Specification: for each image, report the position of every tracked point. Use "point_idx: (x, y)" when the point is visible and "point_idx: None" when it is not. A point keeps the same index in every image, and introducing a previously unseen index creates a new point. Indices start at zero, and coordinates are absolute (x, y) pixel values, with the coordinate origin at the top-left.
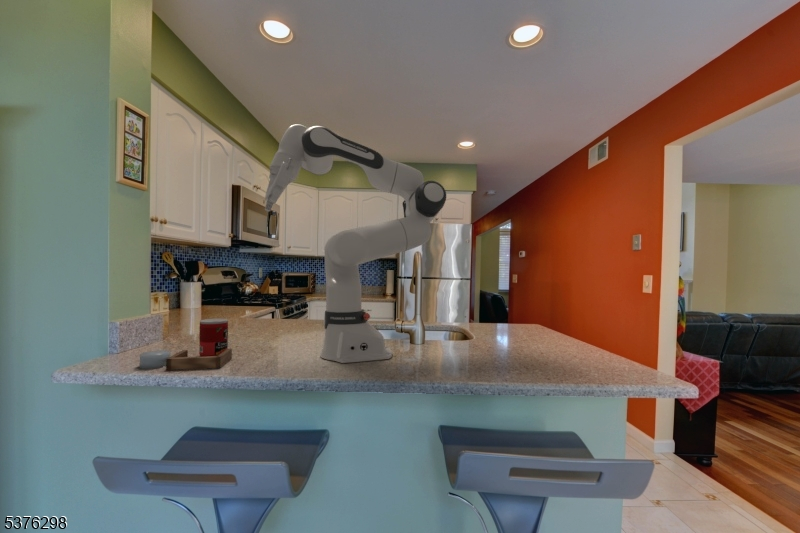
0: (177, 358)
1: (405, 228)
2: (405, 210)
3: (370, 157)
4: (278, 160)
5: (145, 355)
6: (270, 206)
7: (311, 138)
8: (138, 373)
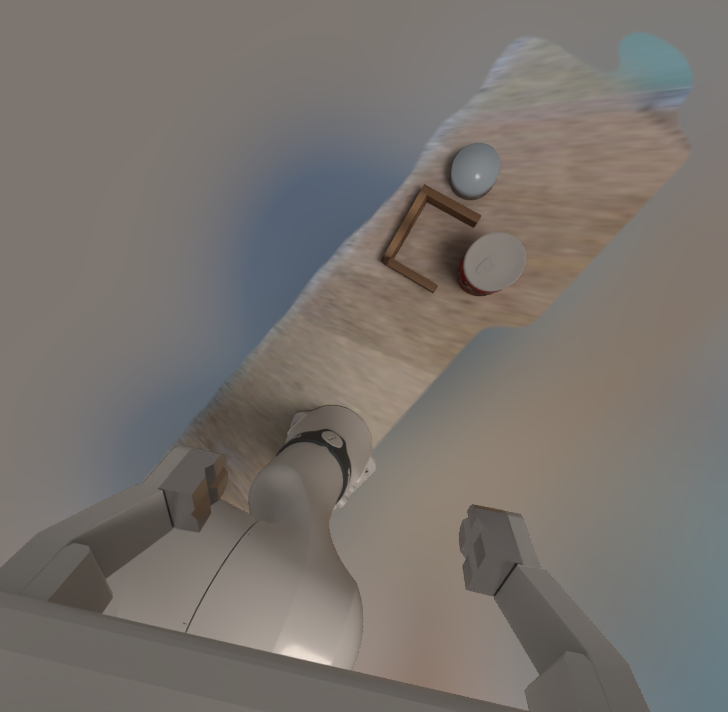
0: (415, 200)
1: None
2: None
3: None
4: None
5: (467, 152)
6: (469, 569)
7: None
8: (433, 154)
